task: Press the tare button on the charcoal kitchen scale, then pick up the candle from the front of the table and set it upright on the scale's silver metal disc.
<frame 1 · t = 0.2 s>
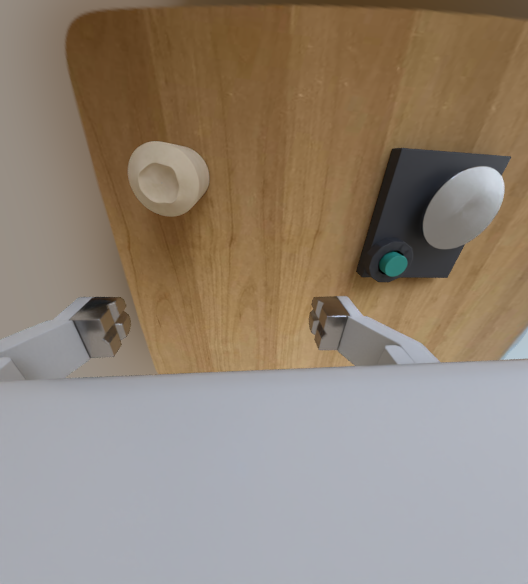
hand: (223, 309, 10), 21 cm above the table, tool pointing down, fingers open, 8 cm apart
silver metal disc: (438, 205, 30), resting on scale
scale: (418, 220, 31), on the table
tare button: (392, 264, 30), point 4 cm above the table, slide at 0.1 cm
candle: (185, 174, 26), on the table
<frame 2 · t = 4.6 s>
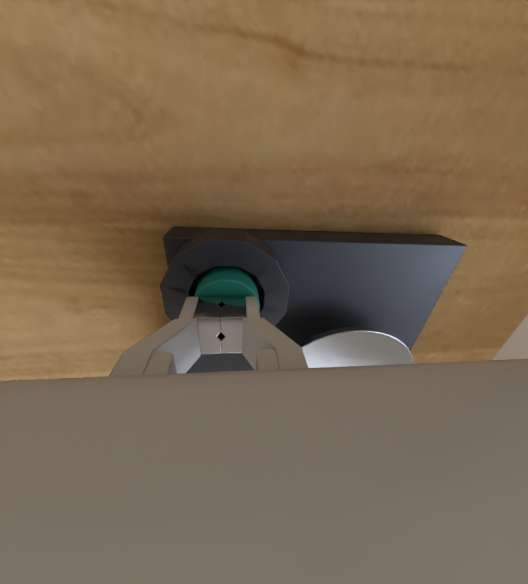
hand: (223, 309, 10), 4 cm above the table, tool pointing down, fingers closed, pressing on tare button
silver metal disc: (320, 345, 18), resting on scale
scale: (299, 325, 17), on the table
tare button: (227, 300, 11), point 3 cm above the table, slide at -0.3 cm, touching gripper
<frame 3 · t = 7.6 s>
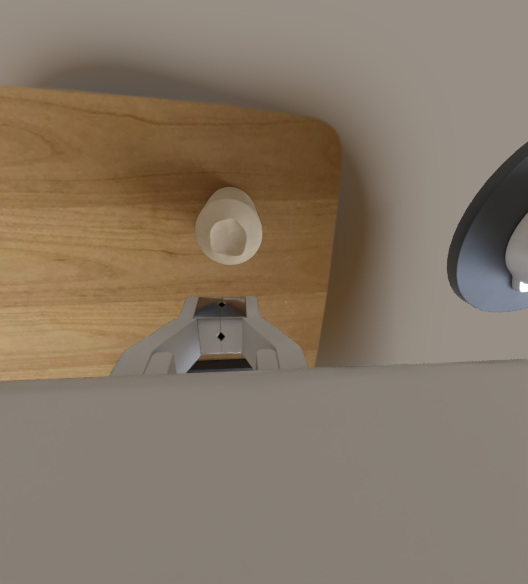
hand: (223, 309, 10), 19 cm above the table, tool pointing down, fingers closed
scale: (210, 387, 41), on the table
candle: (231, 212, 26), on the table
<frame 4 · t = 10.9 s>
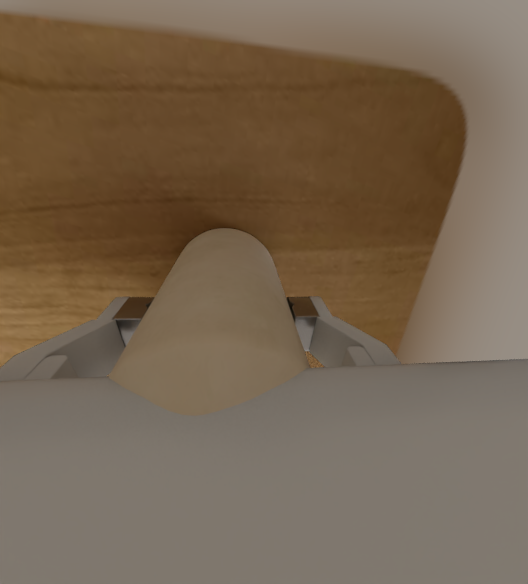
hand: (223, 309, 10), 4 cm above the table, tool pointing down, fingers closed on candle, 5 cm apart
candle: (227, 272, 13), on the table, touching gripper
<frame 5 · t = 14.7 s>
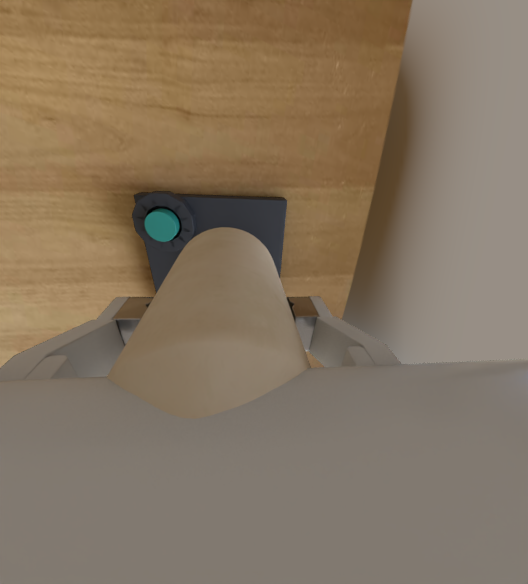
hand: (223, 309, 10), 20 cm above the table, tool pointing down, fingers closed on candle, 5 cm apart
scale: (218, 253, 29), on the table
tare button: (162, 225, 23), point 4 cm above the table, slide at 0.1 cm
candle: (227, 271, 13), point 16 cm above the table, touching gripper
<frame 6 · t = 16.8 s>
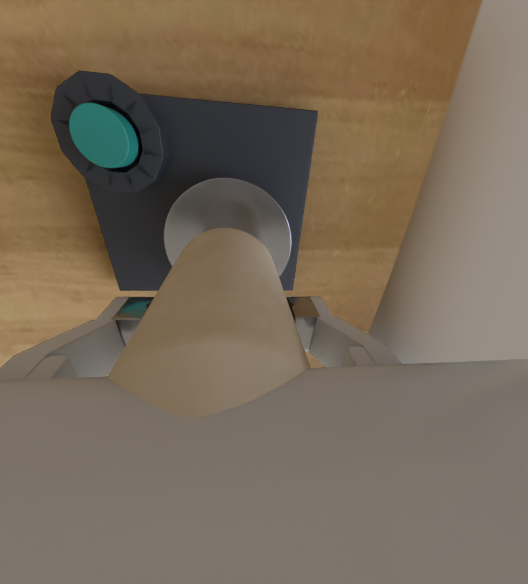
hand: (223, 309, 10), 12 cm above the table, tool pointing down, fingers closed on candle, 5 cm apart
silver metal disc: (231, 233, 21), resting on scale
scale: (207, 209, 19), on the table
tare button: (106, 138, 13), point 4 cm above the table, slide at 0.1 cm
candle: (227, 272, 13), point 8 cm above the table, touching gripper
when the fingers open (7 cm above the table, at t = 18.5 s): candle stays where it is, resting on silver metal disc.
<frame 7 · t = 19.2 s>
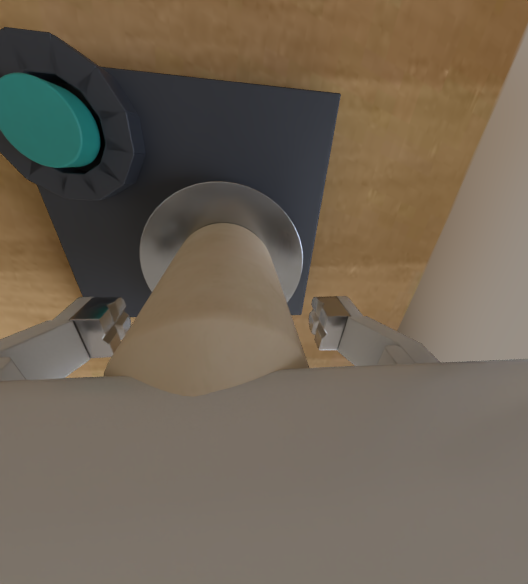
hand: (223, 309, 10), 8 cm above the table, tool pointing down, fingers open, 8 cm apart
silver metal disc: (227, 247, 17), resting on scale
scale: (197, 219, 16), on the table
tare button: (51, 126, 9), point 4 cm above the table, slide at 0.1 cm
candle: (226, 266, 14), point 4 cm above the table, touching silver metal disc
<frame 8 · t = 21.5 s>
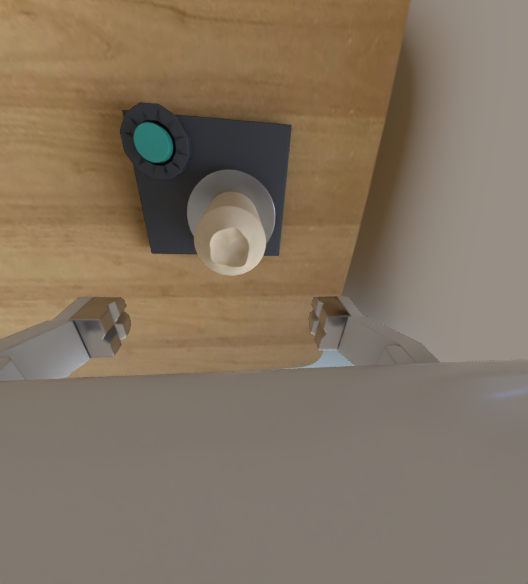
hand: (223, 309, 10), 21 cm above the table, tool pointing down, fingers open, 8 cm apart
silver metal disc: (232, 211, 28), resting on scale
scale: (215, 193, 27), on the table
tare button: (154, 143, 21), point 4 cm above the table, slide at 0.1 cm
candle: (232, 217, 25), point 4 cm above the table, touching silver metal disc
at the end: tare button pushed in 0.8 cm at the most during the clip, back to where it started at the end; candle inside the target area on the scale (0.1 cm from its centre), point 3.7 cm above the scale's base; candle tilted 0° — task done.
